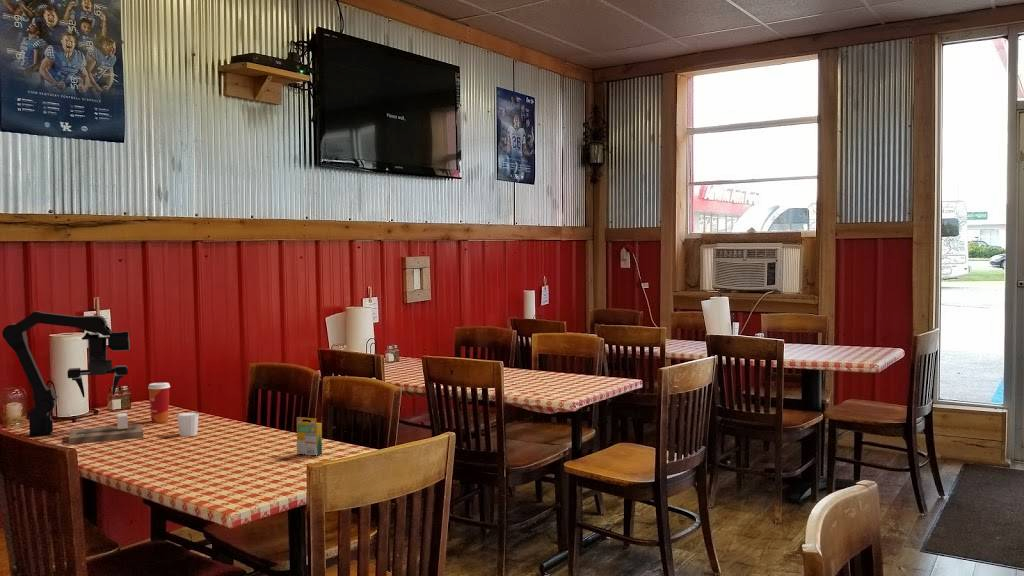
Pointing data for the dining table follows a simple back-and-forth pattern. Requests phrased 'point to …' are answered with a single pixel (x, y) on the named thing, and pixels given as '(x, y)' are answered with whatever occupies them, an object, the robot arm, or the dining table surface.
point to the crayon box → (309, 436)
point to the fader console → (104, 434)
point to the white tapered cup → (188, 423)
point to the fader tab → (122, 421)
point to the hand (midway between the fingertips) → (98, 396)
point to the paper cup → (159, 402)
